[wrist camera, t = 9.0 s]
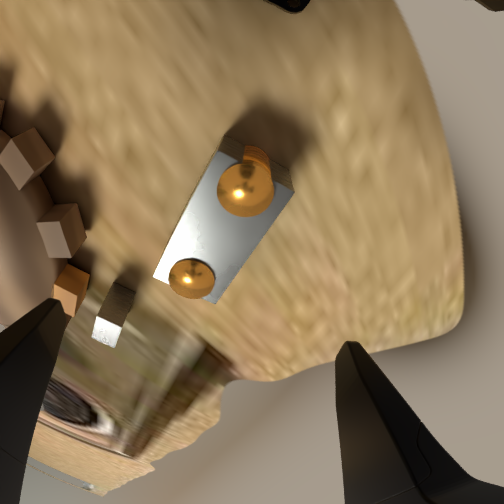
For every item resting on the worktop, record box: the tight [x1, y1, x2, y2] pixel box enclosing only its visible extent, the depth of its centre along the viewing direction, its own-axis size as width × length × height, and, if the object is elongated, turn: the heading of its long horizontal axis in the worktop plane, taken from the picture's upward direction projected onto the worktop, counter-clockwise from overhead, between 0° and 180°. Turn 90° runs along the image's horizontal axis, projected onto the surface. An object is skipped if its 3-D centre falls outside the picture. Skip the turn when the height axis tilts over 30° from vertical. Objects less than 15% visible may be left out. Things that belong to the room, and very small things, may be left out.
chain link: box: [153, 135, 295, 304], centre depth 14 cm, size 7×3×3 cm, turn 150°
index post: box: [92, 282, 136, 348], centre depth 18 cm, size 2×2×3 cm
